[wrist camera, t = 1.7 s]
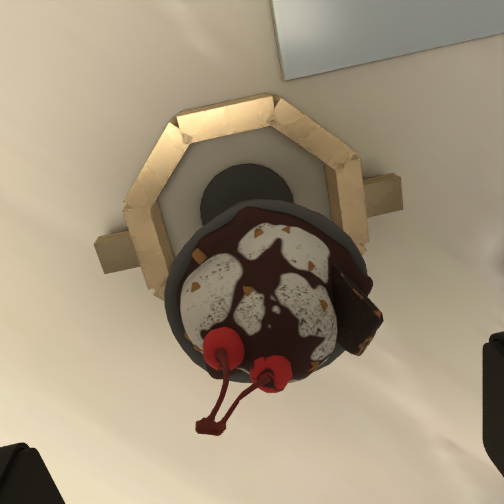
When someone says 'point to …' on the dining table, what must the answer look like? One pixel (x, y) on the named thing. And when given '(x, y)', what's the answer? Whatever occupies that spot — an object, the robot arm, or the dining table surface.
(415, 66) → the dining table surface
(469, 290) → the dining table surface
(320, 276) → the sundae
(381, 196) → the collar
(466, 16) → the plate
